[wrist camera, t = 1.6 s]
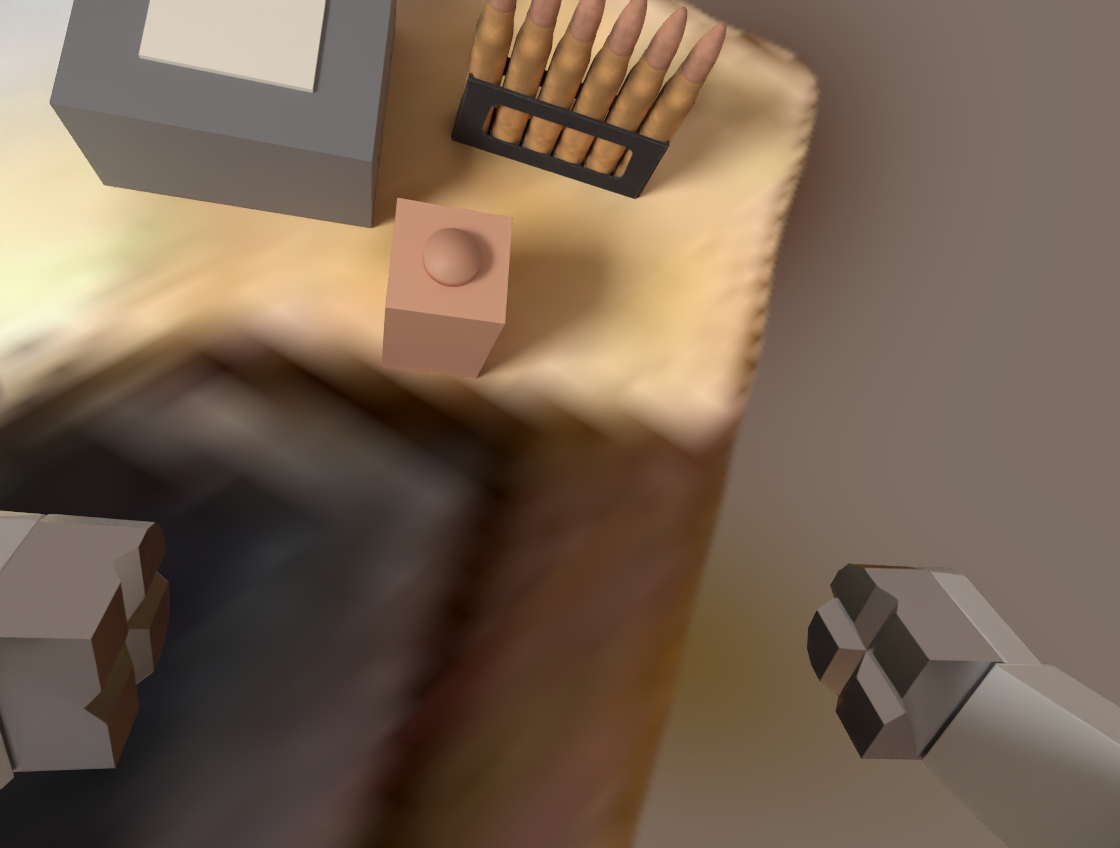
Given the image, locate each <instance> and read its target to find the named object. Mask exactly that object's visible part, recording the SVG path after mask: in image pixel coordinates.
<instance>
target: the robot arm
mask: <svg viewBox="0 0 1120 848" xmlns="http://www.w3.org/2000/svg"><path fill="white" fill-rule="evenodd" d="M164 553H165V546H164V539H163V532H162V527H160V526H159V525H158V524H157V523H155V522H143V521H131V520H119V519H106V518H94V517H81V516H69V515H56V514H49V515H43V514H32V513H19V512H7V511H0V789H1V788H2V787H3V786H5V785H6V784H7V783H8V782H9V781H10V780H11V779H12V778H14V774H13V772H18V771H44V770H71V769H97V768H115V766H116V764H117V761H118V759H119V756H120V754H121V751H122V749H123V746H124V744H125V742H126V739H127V737H128V734H129V732H130V729H131V727H132V724H133V722H134V719H135V717H136V714H137V712H138V709H139V704H138V696H137V688H136V684H137V683H138V682H140V681H141V680H142V679H144V678H145V677H146V676H148V675H149V674H150V673H152V672H153V671H154V669H155V666H156V664H157V661H158V658H159V656H160V653H161V650H162V648H163V643H164V639H165V634H166V629H167V625H168V620H169V603H170V597H169V585H168V582H167V581H166V580H165V579H164V578H163V577H162V576H161V575H160V574H159V573H157V572H156V571H157V569H158V567H159V564H160V562H161V560H162V558H163V555H164ZM830 586H831V590H832V593H833V597H834V598H833V599H832V600H830V601H829V602H827V603H826V604H824V605H823V606H822V607H820V608H819V609H818V610H817V611H816V613H815V615H814V617H813V619H812V621H811V623H810V625H809V627H808V641H807V650H808V654H809V658H810V662H811V665H812V667H813V669H814V671H815V673H816V675H817V677H818V679H819V681H820V682H821V683H822V684H823V685H825V686H826V687H827V688H828V689H830V690H831V691H832V692H833V693H835V694H836V695H837V696H838V701H837V707H836V713H837V715H838V717H839V718H840V720H841V722H842V724H843V726H844V728H845V730H846V731H847V733H848V735H849V737H850V739H851V741H852V742H853V744H854V746H855V748H856V750H857V752H858V754H859V755H860V757H861V759H903V760H905V759H907V760H922V762H921V763H920V764H921V765H923V766H924V767H925V768H926V769H927V770H928V771H929V772H930V773H931V774H932V775H933V776H934V777H935V778H936V779H937V780H938V781H939V782H940V783H941V784H942V785H943V786H944V787H946V788H947V789H948V790H949V791H950V792H951V793H952V794H953V795H954V796H955V797H956V798H957V799H958V800H959V801H960V802H961V803H962V804H963V805H964V806H965V807H967V809H968V810H970V811H971V812H972V813H973V814H974V815H975V816H976V817H977V818H978V819H979V820H980V821H981V822H982V823H983V824H984V825H985V826H986V827H987V828H988V829H989V830H991V831H992V832H993V833H994V834H995V835H996V836H997V837H998V838H999V839H1000V840H1001V841H1002V842H1003V843H1004V844H1005V845H1006V846H1007V847H1008V848H1120V708H1119V707H1118V706H1116V705H1115V704H1113V703H1112V702H1110V701H1108V700H1107V699H1105V698H1103V697H1102V696H1100V695H1099V694H1097V693H1096V692H1094V691H1092V690H1091V689H1089V688H1088V687H1086V686H1084V685H1083V684H1081V683H1080V682H1078V681H1077V680H1075V679H1073V678H1072V677H1070V676H1068V675H1067V674H1065V673H1064V672H1062V671H1061V670H1059V669H1057V668H1056V667H1054V666H1053V665H1042V664H1041V663H1040V662H1039V661H1038V660H1037V659H1036V657H1035V656H1034V655H1033V654H1032V653H1031V652H1030V650H1029V649H1028V648H1027V647H1026V646H1025V645H1024V644H1023V642H1022V641H1021V640H1020V639H1019V638H1018V637H1017V636H1016V634H1015V633H1014V632H1013V631H1012V630H1011V629H1010V627H1009V626H1008V625H1007V624H1006V623H1005V622H1004V621H1003V619H1002V618H1001V617H1000V616H999V615H998V614H997V613H996V611H995V610H994V609H993V608H992V607H991V606H990V604H989V603H988V602H987V601H986V600H985V599H984V598H983V596H982V595H981V594H980V593H979V592H978V591H977V589H976V588H975V587H974V586H973V585H972V584H971V583H970V582H969V581H968V579H967V578H966V577H965V576H964V575H963V574H961V573H959V572H958V571H956V570H954V569H952V568H944V567H906V566H886V565H867V564H848V565H846V566H845V567H844V568H842V569H841V570H839V571H838V573H837V574H836V576H835V578H834V580H833V582H832V583H831V585H830Z"/></svg>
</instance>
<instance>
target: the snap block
mask: <svg viewBox="0 0 1120 848" xmlns="http://www.w3.org/2000/svg"><path fill="white" fill-rule="evenodd" d="M511 232H512V217H506V216H500V215H495V214H489V213H483V212H477V211H471V210H466V209H460V208H454V207H448V206H443V205H437V204H431V203H425V202H419V201H414V200H408V199H402V198H397V206H396V215H395V224H394V233H393V242H392V251H391V260H390V270H389V279H388V288H387V297H386V306H385V321H384V337H383V352H382V367H384V368H392V369H401V370H409V371H418V372H426V373H435V374H443V375H452V376H460V377H469V378H477V376H478V374H479V372H480V370H481V368H482V366H483V365H484V363H485V361H486V359H487V357H488V355H489V353H490V351H491V350H492V348H493V346H494V344H495V342H496V340H497V338H498V336H499V334H500V333H501V331H502V329H503V327H504V325H505V319H506V305H507V290H508V275H509V261H510V246H511Z"/></svg>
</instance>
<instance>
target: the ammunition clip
mask: <svg viewBox="0 0 1120 848" xmlns="http://www.w3.org/2000/svg"><path fill="white" fill-rule="evenodd" d="M516 1H517V0H486V1H485V5H484V9H483V11H482V13H481V15H480V17H479V19H478V22H477V26H476V31H475V36H474V41H473V46H472V51H471V55H470V60H469V65H468V70H467V75H466V80H465V85H464V90H463V95H462V99H461V102H460V106H459V109H458V113H457V117H456V121H455V125H454V129H453V132H452V136H451V138H452V140H454V141H457V142H460V143H463V144H466V145H469V146H472V147H475V148H478V149H481V150H485V151H488V152H491V153H494V154H497V155H500V156H503V157H506V158H509V159H512V160H516V161H519V162H522V163H525V164H528V165H531V166H534V167H537V168H540V169H543V170H547V171H550V172H553V173H556V174H559V175H562V176H565V177H568V178H571V179H574V180H577V181H581V182H584V183H587V184H590V185H593V186H596V187H599V188H602V189H605V190H608V191H612V192H615V193H618V194H621V195H624V196H627V197H630V198H633V199H635V198H638V197H639V196H640V194H641V192H642V191H643V189H644V187H645V186H646V184H647V182H648V180H649V179H650V177H651V175H652V174H653V172H654V170H655V169H656V167H657V165H658V164H659V162H660V160H661V159H662V157H663V155H664V153H665V152H666V150H667V148H668V147H669V143H670V139H671V138H672V136H673V135H674V133H675V132H676V130H677V129H678V127H679V126H680V124H681V123H682V121H683V120H684V118H685V117H686V115H687V114H688V112H689V111H690V109H691V108H692V106H693V104H694V102H695V100H696V97H697V94H698V92H699V90H700V88H701V86H702V85H703V83H704V81H705V79H706V77H707V75H708V74H709V72H710V71H711V69H712V67H713V65H714V64H715V62H716V60H717V58H718V55H719V53H720V50H721V48H722V45H723V42H724V39H725V34H726V23H724V22H722V23H719V24H718V25H716V26H714V27H713V28H712V29H711V30H709V31H708V32H707V33H706V34H705V35H704V36H703V37H702V38H701V39H700V40H699V41H698V43H697V44H696V45H695V46H694V47H693V49H692V50H691V51H690V53H689V54H688V56H687V58H686V59H685V61H684V62H683V63H682V64H681V66H680V67H679V69H678V70H677V71H676V73H675V74H674V75H673V76H672V77H671V78H670V79H669V80H668V81H667V82H666V83H665V85H664V86H663V88H662V90H661V91H660V88H661V86H662V82H663V79H664V76H665V74H666V72H667V70H668V68H669V66H670V63H671V61H672V59H673V58H674V56H675V54H676V52H677V49H678V47H679V45H680V42H681V40H682V37H683V34H684V30H685V26H686V22H687V9H686V8H685V7H682V8H680V9H678V10H677V11H675V12H674V13H673V14H672V15H671V16H670V17H669V18H668V19H667V20H666V21H665V22H664V23H663V25H662V26H661V27H660V28H659V30H658V31H657V33H656V34H655V35H654V37H653V39H652V40H651V42H650V44H649V46H648V48H647V49H646V50H645V52H644V53H643V55H642V57H641V58H640V60H639V61H638V62H637V64H636V65H635V66H634V67H633V68H632V69H631V70H630V72H629V74H628V76H627V78H626V80H625V82H624V83H623V85H622V87H621V89H620V91H619V93H618V95H616V94H617V92H618V90H619V88H620V86H621V84H622V82H623V79H624V77H625V75H626V71H627V67H628V62H629V60H630V57H631V55H632V53H633V50H634V47H635V45H636V42H637V40H638V38H639V36H640V33H641V30H642V27H643V24H644V20H645V16H646V10H647V0H631V1H630V2H629V3H628V5H627V6H626V7H625V8H624V10H623V11H622V12H621V14H620V16H619V17H618V19H617V21H616V22H615V24H614V26H613V28H612V31H611V33H610V35H609V36H608V37H607V39H606V41H605V43H604V45H603V47H602V49H601V50H600V51H599V52H598V54H597V55H596V56H595V58H594V60H593V62H592V64H591V66H590V69H589V71H588V73H587V75H586V78H585V80H584V82H583V83H581V81H582V79H583V76H584V74H585V72H586V69H587V67H588V64H589V62H590V57H591V50H592V46H593V43H594V40H595V37H596V33H597V30H598V28H599V25H600V22H601V19H602V15H603V12H604V7H605V1H606V0H580V2H579V3H578V5H577V7H576V9H575V12H574V14H573V17H572V19H571V21H570V23H569V25H568V27H567V30H566V32H565V34H564V36H563V37H562V39H561V40H560V42H559V43H558V45H557V47H556V49H555V52H554V54H553V57H552V60H551V63H550V66H549V68H548V71H546V70H545V67H546V64H547V61H548V58H549V55H550V52H551V49H552V42H553V32H554V29H555V25H556V21H557V16H558V13H559V9H560V6H561V1H562V0H532V2H531V6H530V8H529V10H528V13H527V16H526V18H525V21H524V23H523V25H522V27H521V28H520V30H519V32H518V34H517V37H516V40H515V44H514V47H513V51H512V54H511V58H509V57H508V53H509V49H510V45H511V41H512V37H513V29H514V14H515V9H516ZM503 75H506V76H505V79H504V83H503V87H500V84H501V80H502V76H503ZM539 86H540V87H542V88H541V91H540V93H539V96H538V99H535V97H536V94H537V91H538V88H539ZM659 91H660V93H659ZM658 93H659V95H658ZM657 95H658V96H657ZM656 96H657V98H656ZM574 98H575V99H576V100H575V103H574V105H573V107H572V109H571V111H570V108H571V105H572V103H573V100H574ZM655 98H656V99H655ZM654 100H655V101H654ZM653 102H654V103H653ZM652 103H653V104H652ZM495 105H497V108H495ZM651 105H652V106H651ZM608 110H609V112H608ZM607 112H608V114H607ZM606 114H607V116H606ZM529 115H532V116H531V118H530V119H528V118H529ZM605 116H606V118H605ZM604 118H605V120H604ZM603 120H604V122H603ZM563 126H564V128H563V130H561V129H562V127H563ZM594 138H595V139H594ZM593 140H594V141H593Z"/></svg>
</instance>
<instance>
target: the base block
mask: <svg viewBox="0 0 1120 848" xmlns="http://www.w3.org/2000/svg"><path fill="white" fill-rule="evenodd" d="M395 18H396V0H74V3H73V7H72V11H71V15H70V19H69V24H68V28H67V32H66V36H65V40H64V45H63V49H62V53H61V57H60V61H59V65H58V70H57V74H56V78H55V82H54V86H53V90H52V95H51V99H50V104H51V106H52V107H53V109H54V110H55V112H56V113H57V115H58V116H59V118H60V119H61V121H62V122H63V124H64V125H65V127H66V128H67V130H68V131H69V133H70V134H71V136H72V137H73V139H74V140H75V142H76V143H77V145H78V146H79V148H80V149H81V151H82V152H83V154H84V156H85V157H86V159H87V160H88V162H89V163H90V165H91V166H92V168H93V169H94V171H95V172H96V174H97V175H98V177H99V178H100V180H101V181H102V183H103V184H104V185H108V186H114V187H120V188H126V189H132V190H139V191H145V192H151V193H157V194H163V195H169V196H176V197H182V198H188V199H194V200H200V201H207V202H213V203H219V204H225V205H231V206H238V207H244V208H250V209H256V210H262V211H269V212H275V213H281V214H287V215H293V216H299V217H306V218H312V219H318V220H324V221H330V222H337V223H343V224H349V225H355V226H361V227H368V228H371V227H372V218H373V210H374V201H375V193H376V184H377V176H378V167H379V159H380V150H381V142H382V133H383V125H384V116H385V108H386V99H387V90H388V82H389V73H390V65H391V56H392V48H393V39H394V31H395Z"/></svg>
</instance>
